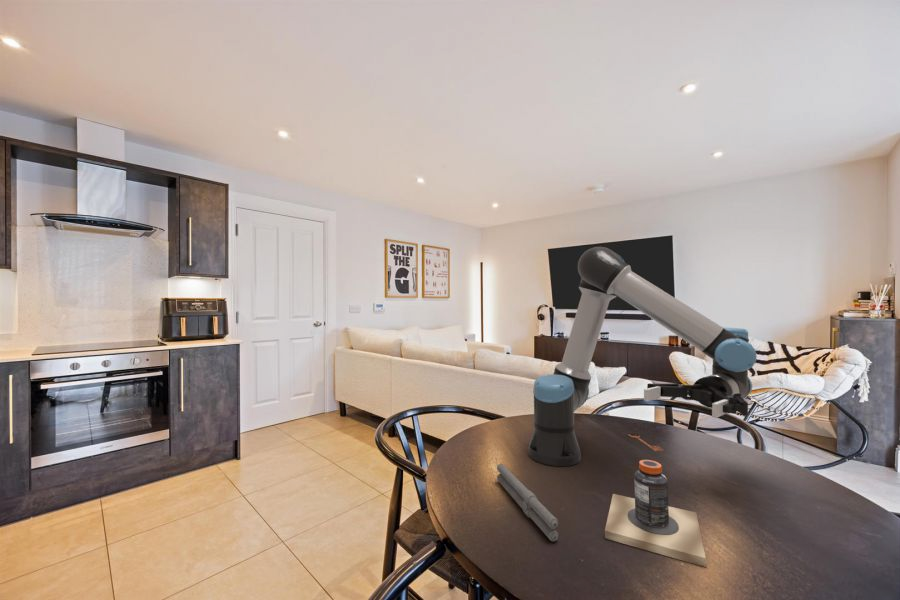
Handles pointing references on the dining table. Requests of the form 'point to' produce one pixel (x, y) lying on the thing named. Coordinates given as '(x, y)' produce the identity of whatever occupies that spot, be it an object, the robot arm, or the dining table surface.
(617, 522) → the stand
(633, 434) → the key
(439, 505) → the dining table surface
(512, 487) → the metal rod assembly
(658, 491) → the pill bottle
